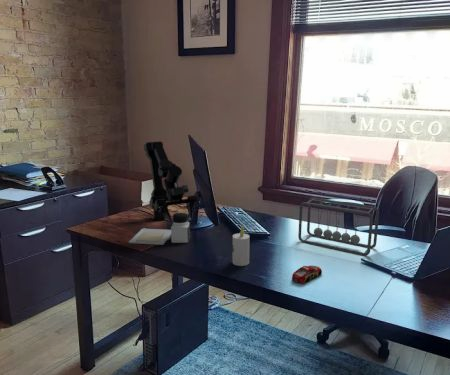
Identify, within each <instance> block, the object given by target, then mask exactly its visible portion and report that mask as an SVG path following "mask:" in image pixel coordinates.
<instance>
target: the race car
mask: <svg viewBox="0 0 450 375" xmlns="http://www.w3.org/2000/svg"><path fill="white" fill-rule="evenodd" d="M322 273H323V271H322V268H320V266H317V265H303V266H301V267H299V268H298V269H297V270H295V271H294V272H293V273H292V274H291V275H292V276H291V280H292V281H294V282H296V283H298V284H307V283H309V282H310V281H312V280H314V279H316V278H317V277H320V276H321V275H322Z"/></svg>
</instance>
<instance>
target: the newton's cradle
mask: <svg viewBox="0 0 450 375" xmlns="http://www.w3.org/2000/svg"><path fill="white" fill-rule="evenodd" d="M312 201H315V202H319V203H315V202H312ZM324 203H329V204H328V205H325V204H324ZM333 205H338V206H333ZM304 206H307V219H306V220H307V221H306V222H307V224H306V232H307V234H308V237H306V238H305V239H303V238H302V227H303V226H302V225H303V224H302V223H303V207H304ZM339 206H340V207H339ZM341 206H345V207H341ZM346 206H347V208H346ZM312 207H315V208H317V209H318V212H317V213H318V214H317V215H318V217H317V218H318V219H317V222H318V223H317V227H316V228H315V229H313V233H312V232H311V231H310V229H311V228H310V227H311V210H312V209H311V208H312ZM351 207H353V208H358V209H351ZM320 208H321V211H320ZM323 209H326V211H327V212H326V214H327V215H326V216H327V219H326V220H327V224H329V223H330V222H331V218H329V215H331V212H332V210H333V211H336V213H335V214H336V216H335V218H336V231H333V232H332V231H331V230H330V226H327V229H325V230H323V229H322V228H321V227H320V224H321V222H320V220H321V217H322V215H319V214H320V213H322V212H323ZM360 209H364V210H360ZM365 209H367V210H369V211H365ZM373 210H374V211H375V223H374V217H373V215H372V213H371V212H372V211H373ZM328 211H330V212H328ZM338 211H339V212H338ZM319 212H320V213H319ZM340 212H345V213H349V214H348V217H347V219H350V218H349V217H350V214H351V213H352V214H355V218H354V220H355V221H354V226H355V228H354V231H357V229H358V226H357V224H358V223H359V221H358V220H359V218H357V216H359V215H364V216H368V217H369V225H368V235H367V236H368V238H367V244H365V243H360V241H361V238H360V236H359V235H357V233H354V234H353V235H351V234H349V233H347V232H348V229H345V233H342V234H341V232H340V231H338V229H339V227H338V224H339V222H340V219H338V216H340V214H341V213H340ZM379 217H380V211H379V209H378V207H376V206H372V205H365V204H359V203H352V202H347V201H346V202H345V201H339V200H333V199H332V200H331V199H327V198H326V199H325V198H321V197H320V198H318V197H310V198H309V199H308V201H307V202H304V201H303V202H301V203H300V205H299V215H298V240H299V241H300V242H301V243H305V244H308V245H313V246H317V247H322V248H326V249H331V250H335V251H341V252H345V253H350V254H355V255H360V256H363V257H366V256H369V254H370V253H371V249H374V248H375V247H376V246H377V240H378V228H379V219H380V218H379ZM356 218H357V220H356ZM348 225H349V222H346V227H348ZM373 225H374V231H373ZM373 232H374V234H372V233H373ZM372 235H373V242H372ZM310 237H315V238H319V239H324V240H329V241H333V242H339V243H344V244H348V245H353V246H358V247H361V248H362V247H363V248H366V250H365V251H364V252H361V251H357V250H351V249H349V248H344V247H338V246H335V245H334V246H333V245H329V244H324V243H320V242H316V241H310V240H308V239H309V238H310Z"/></svg>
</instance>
